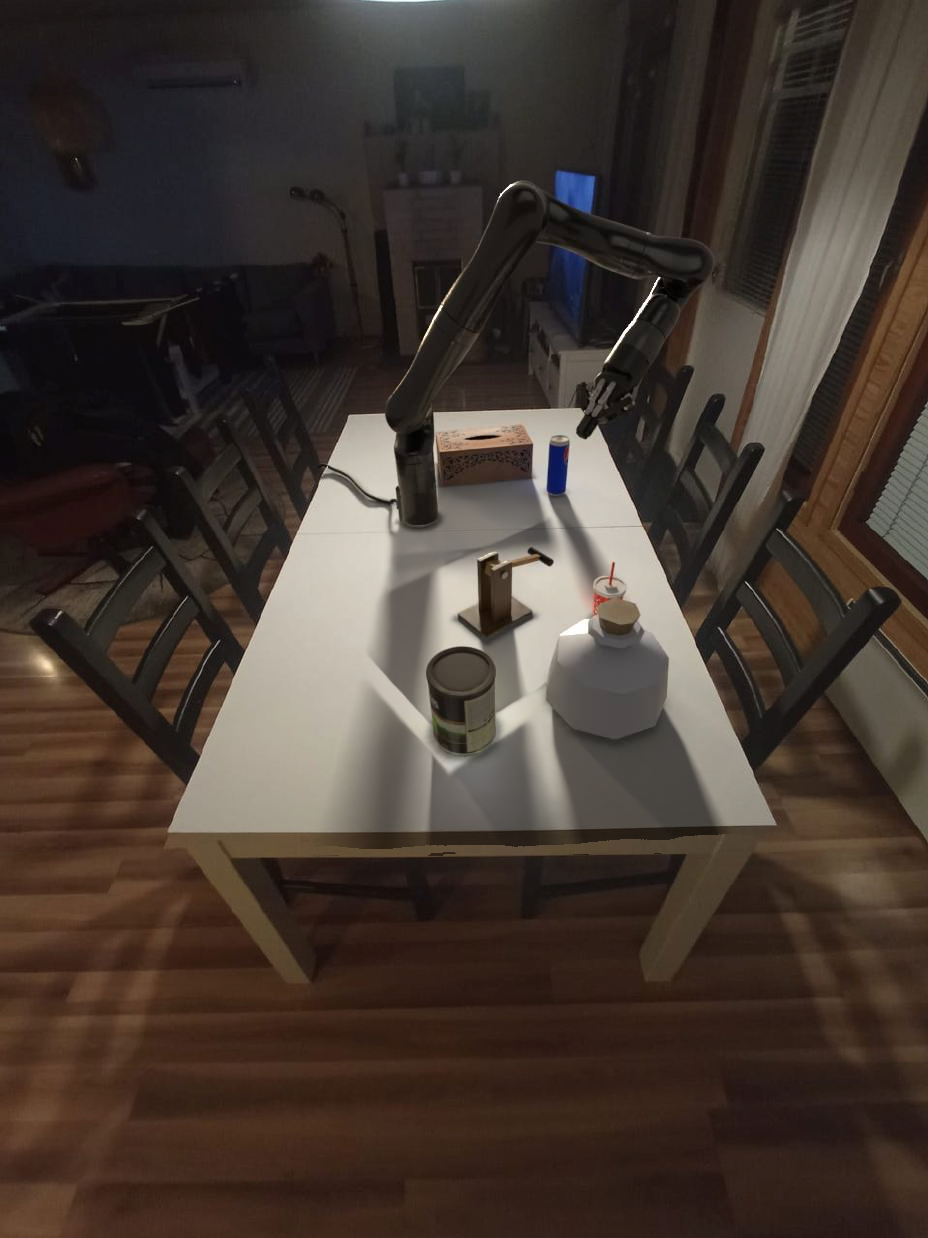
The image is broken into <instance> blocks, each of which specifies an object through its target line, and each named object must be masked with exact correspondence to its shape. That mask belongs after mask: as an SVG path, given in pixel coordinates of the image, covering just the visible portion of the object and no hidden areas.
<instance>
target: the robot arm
mask: <svg viewBox="0 0 928 1238" xmlns="http://www.w3.org/2000/svg"><path fill="white" fill-rule="evenodd" d="M536 243H540V244H546V245H551V246H554V247H558V248H561V249H564V250H566V251H569V252H571V253H573V254H575V255H578V256H579V257H581V258H583V259H586V260H588V261H589V262H591V263H593V264H594V265H597V266H599V267H601V268H602V269H606V270H608V271H610V272H614V273H616V274H619V275H622V276H625V277H627V278H630V279H634V280H637V281H644V280H647V279H649V278H652V277H658V278H657V280H656V282H655V283H654V286H653V287H652V290H651V292H650V294H649V296H648V297H647V299H646V300H645V301H644V303H643V304H642V306H641V307H640V308H639V310H638V312H637V313H636V315H635V316H634V318H633V319H632V321H631V322H630V324H628V326H627V327H626V329H625V330H624V331H623V332H622V334H621V336H620V337H619V339H618V340H617V342H616V344H615V345H614V347H613V348H612V350H611V352H610V353H609V354H608V356H607V358H606V359H605V361H604V362H603V365H602V370H601V371H600V373H599V374H598V375H596V376H595V377H594V379H593V381H591V382H589V383H587V382H585V381H582V382H580V385H579V408H580V410H581V411H582V412H583V414H584V415H583V417H582V418H581V420H580V422H579V423H578V425H577V426H576V428H575V430H576V431H575V434H576V435H577V436H578V438H580V439H582V440H587V439H589V438H590V437H591V436H592V435H593V434H594V431H595V430H596V428H597V427H598V426H599V424H601V423H606V424H610V423H612V422H613V421H615V420H617V419H619V418H621V417H622V416H624V415H626V414H628V413H630V412H631V411H633V410H634V409H636V407H637V404H636V401H634V399H633V394H634V390H635V388H637V387H638V386H639V384H640V383H641V381H642V380H643V378H644V377H645V375H646V373H647V372H648V370H649V369H650V367H651V366H652V364H653V363H654V361H655V360H656V358H657V357H658V355H659V354H660V352H661V349H662V347H663V345H664V343H665V342H666V340H667V338H668V337H669V336H670V334H671V332H672V331H673V329H674V328H675V326H676V325H677V323H678V321H679V318H680V316H681V311H682V310H683V308H684V307H685V305H686V304H687V302H688V301H689V299H690V298H691V297H692V296H693V294H694V293H695V292H696V291H697V290H699V288H700V287H701V286H702V285H704V284H705V283H706V282H707V281H708V279H710V277H711V275H712V273H713V271H714V268H715V263H716V262H715V256H714V253H713V251H712V250H711V248H709V247H708V246H707V245H706V244H704V243H703V242H701V241H699V240H696V239H693V238H685V237H678V236H677V237H676V236H663V235H662V236H659V235H654V234H652V233H650V232H647V231H645V230H641V229H638V228H636V227H633V226H630V225H626V224H623V223H620V222H617V221H614V220H610V219H607V218H604V217H601V216H598V215H595V214H591V213H590V212H586V211H584V210H581V209H578V208H576V207H574V206H571V205H570V204H567V203H566V202H564V201H561V200H560V199H558V198H556V197H554V196H553V195H551V194H550V193H548V192H546V191H545V190H543V189H542V188H540V187H539V186H538V185H537V184H536V183H534V182H532V181H529V180H519V181H515V182H513V183H511V184H509V185H508V186H507V187H506V188H504V190H503V191H502V193H500V195H499V197H498V199H497V200H496V203H495V205H494V207H493V211H492V213H491V216H490V218H489V221H488V223H487V226H486V227H485V230H484V233H483V235H482V237H481V239H480V242H479V244H478V245H477V248H476V250H475V252H474V254H473V255H472V257H471V259H470V260H469V262H467V263H468V264H466V266H465V267H464V269H463V270H462V271H461V273H460V274H459V276H457V278H456V279H455V281H454V282H453V284H452V285H451V287H450V288H449V290H448V292H447V293H446V295H445V296H444V298H443V300H442V301H441V303H440V305H439V307H438V309H437V310H436V312H435V314H434V316H433V318H432V320H431V322H430V324H429V326H428V328H427V330H426V332H425V334H424V335H423V336H424V337H423V338H422V341H421V343H420V345H419V347H418V350H417V352H416V355H415V357H414V360H413V361H412V364H411V365H410V368H409V369H408V371H407V372H406V374H405V375H404V377H403V379H402V380H401V382H400V383H399V385H398V386H397V387H396V389H395V390H394V391H393V392H392V393H391V395H390V396H389V397H388V398H387V400H386V403H385V407H384V408H385V409H384V417H385V421H386V423H387V425H388V427H389V428H390V430H392V431H393V432H394V433H395V440H394V444H393V455H394V461H395V469H396V476H397V484H398V485H397V486H395V495H396V498H391V499H389V500H388V499H383V498H380V497H377V496H375V495H373V494H370V492H368V491H366V490H365V489H364V488H363V487H362V486H361V485H360V484H359V483H358V482H357V481H356V480H355V478H354V477H353V476H351V475H350V474H348V473H347V472H345V471H343V470H341V469H338V468H336V467H334V466H331V465H329V464H327V463H324V462H321V463H319V464H318V465H317V468H318V469H321V468H322V467H325V468H327V466H328V468H327V469H328V470H330V471H333V472H335V473H338V474H340V475H342V476H344V477H346V478H347V479H349V480H350V481H351V482H352V484H353V485H354V486H355V487H356V488H357V490H359V491H360V493H362V494H363V495H364V496H365V497H366V498H369V499H371V500H374V501H376V502H377V503H383V504H386V505H393V504H394V503H395V505H396V510H397V512H398V518H399V522H400V523H402V524H403V525H404V526H405V527H407V528H410V529H415V530H423V529H428V528H431V527H433V526H435V525H436V524H437V523H438V522H439V520H440V513H439V502H438V492H437V491H438V490H437V480H436V479H437V478H436V466H435V452H434V445H435V438H436V434H435V418H434V417H435V416H434V405H433V402H434V401H435V399H436V396H437V395H438V394H439V392H440V390H441V388H442V387H443V385H444V384H445V383H446V381H447V380H448V379H449V377H450V376H451V375H452V374H453V373H454V372H455V370H456V369H457V368H458V367H459V365H460V364H461V362H462V361H463V360H464V358H465V357H466V356H467V354H468V353H469V352H470V350H471V348H472V347H473V345H474V344H475V343H476V341H477V339H478V337H479V336H480V334H481V332H482V331H483V329H484V327H485V325H486V324H487V322H488V320H489V318H490V316H491V315H492V313H493V310H494V308H495V306H496V303H497V302H498V299H499V297H500V295H501V293H502V290H503V288H504V287H505V284H507V282H508V280H509V278H511V275H512V274H513V272H514V271H515V270H516V268H517V267H518V266H519V264H520V262H521V261H522V260H523V259H524V257H525V256H526V255H527V254H528V252H529V251H530V249H531V248H533V246H534V245H535V244H536Z"/></svg>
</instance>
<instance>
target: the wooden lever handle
mask: <svg viewBox="0 0 928 1238" xmlns="http://www.w3.org/2000/svg"><path fill="white" fill-rule="evenodd" d="M527 554H528V555H527V556H523V557H518V558H514V559H511V560H510V561H512V569H513V568H516V567H520V566H524V565H528V564H531V563H535V562H536V563H537V562H541V563H542V564H544V565H546V566H547V567H551V566H553V564H554V559H552V558H551V557H549V556H547V555H546V554H544V553H543V552H541V551H540V550H538V549H537V548H535V547H533V546H530V547H529V548H528V549H527ZM503 562H504V561H502V560H500V559H499V558H498V559H495V560H491V561H487V562H486V567H485V574H487V575H488V576H490V577H491V568H493V567H495V566H497V565H499V564H501V563H503Z"/></svg>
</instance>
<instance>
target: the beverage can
mask: <svg viewBox="0 0 928 1238" xmlns="http://www.w3.org/2000/svg"><path fill="white" fill-rule="evenodd" d="M549 439H550V440H549V442H548V456H547V461H548V462H547V473H546V475H547V476H546V492H547V494H549V496H550V495H551V496H553V497H559V496H560V497H561V496H562V495H564V494H565V493H566V490H567V482H568V481H567V479H568V467H569V456H570V445H571V444H570V443H571V442H570V437H569V436H567V435H563V434H556V435H553V436H551V437H550V438H549Z"/></svg>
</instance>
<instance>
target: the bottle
mask: <svg viewBox="0 0 928 1238" xmlns="http://www.w3.org/2000/svg"><path fill="white" fill-rule="evenodd" d="M597 611H598V614H597V615H596V616H594V617H593V616H592V617H591V618H587V619H581V620H580V621H579V622H578V623H575V624H574V625H573V626H571V627H569V628H568V629H567V630H565V631H564V632H562V633H560V634H559V635H558V637H557V640H556V645H555V647H554V651H553V654H552V658H551V660H550V663H549V667H548V671H547V684H546V693H545V701H546V702H547V704H549V705H550V707H552V708H553V710H555V711H556V713H557V714H558V715H559V716H560V717H561V718H562V719H563V720H564V721H565V722H566V724H568V726H569V727H570V728H571V729H573V730H575V731H578V732H582V733H585V734H590V735H595V736H598V737H602V738H607V739H610V740H619V739H622V738H625V737H628V736H631V735H633V734H636V733H640V732H642V731H645V730H648V729H651V728H654V727H656V726H657V723H658V721H659V718H660V715H661V713H662V710H663V708H664V706H665V703H666V700H667V698H668V686H669V685H668V683H669V663H670V657H669V656H668V654H667V652H666V651H665V650H664V648H663V646H662V645H661V644H660V642H659V640H658V639H657V638H656V636H655V635H654V633H653V632H652V631H649V630H647V629H644V628H643V626H642V625H641V623H640V621H639V619H640V617H641V613H640V610H639V608H638V606H637V604H636V603H635V602H632V601H629V600H626V599H623V600H622V599H619V598H616V597H615V598H613V599H610V600H608V601H606V602H604V603H601V604H599V605H597Z"/></svg>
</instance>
